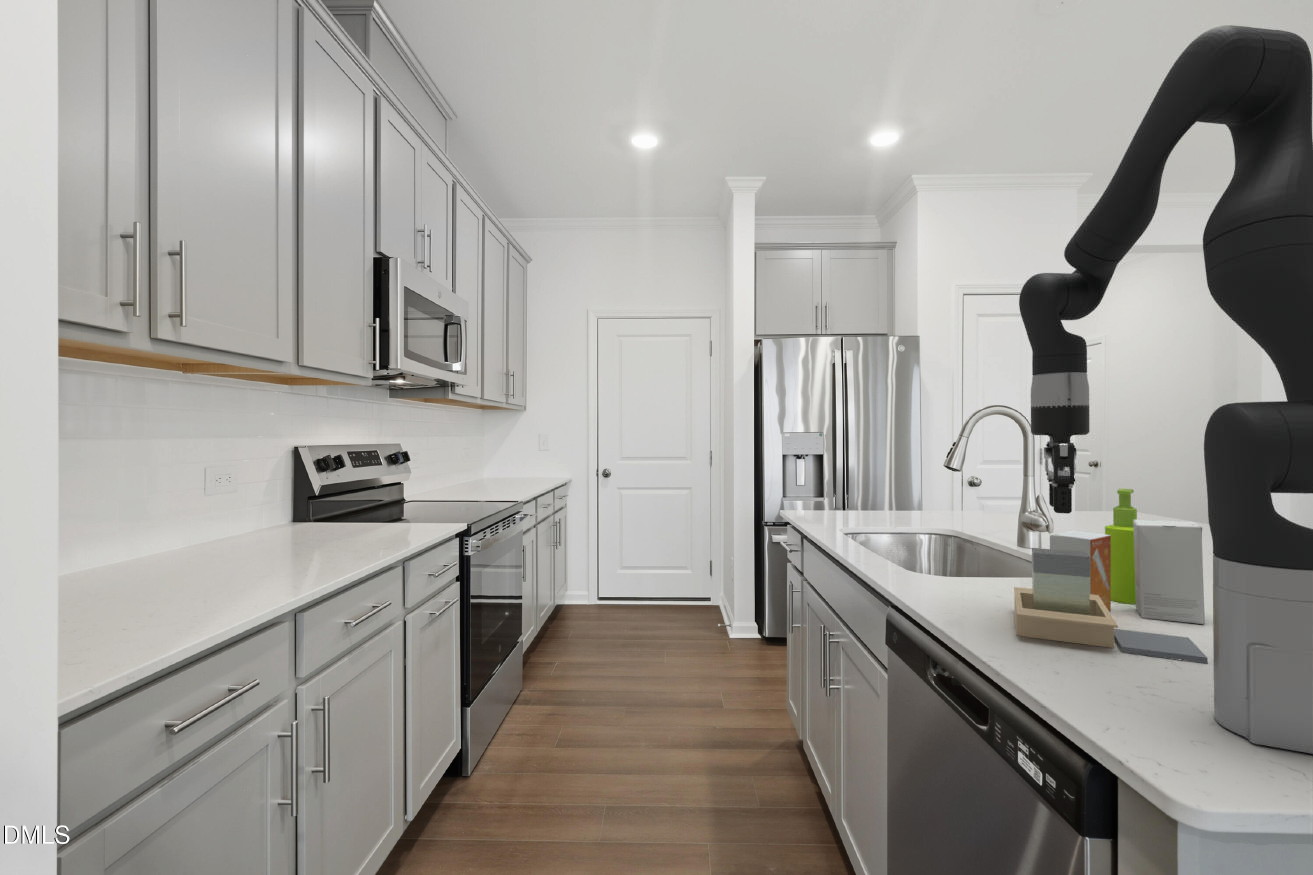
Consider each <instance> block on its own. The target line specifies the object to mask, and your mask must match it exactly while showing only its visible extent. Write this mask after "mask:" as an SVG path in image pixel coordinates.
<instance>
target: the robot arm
mask: <svg viewBox="0 0 1313 875" xmlns="http://www.w3.org/2000/svg"><path fill="white" fill-rule="evenodd" d="M1196 123H1204V124H1215V125H1225V126H1226V127H1227V128H1228V129H1229V131H1230V132H1229V133H1230V135H1231V138H1232V142H1233V143H1232V144H1233V151H1234V163H1235V164H1234V169H1233V170H1234V172H1233V175H1232V178H1231V180H1230V182H1229V184H1228V186H1227V187H1226V189H1225V191H1224V192H1223V194H1222V195H1221V196H1220V198H1219V200H1218V201H1217V203H1216V204H1215V206H1214V208H1213V209H1212V212H1211V213H1210V215H1209V216H1208V220H1207V222H1206V224H1205V226H1204V230H1203V233H1202V249H1203V250H1202V251H1203V261H1204V269H1205V277H1206V283H1207V288H1208V290H1209V294H1210V295H1211V297H1212V299H1213V300H1214V302H1215V303H1216V304H1217V305H1218V307H1219V308H1220V310H1222V311H1223V312H1224V313H1225V315H1227V316H1228V317H1229V318H1230V320H1232V321H1233V322H1234V323H1236V325H1237V326H1239V328H1240V329H1241V330H1243V331H1244V333H1246V334H1247V335H1248V336H1250V337H1251V339H1253V340H1254V342H1256V344H1257V345H1258V346H1259V347H1260V348H1261V349H1263V351H1264V352H1265V353H1266V354H1267V355H1268V357H1269V358H1270V360H1271V361H1272V363H1273V365H1274V367H1275V368H1276V370H1277V372H1278V374H1279V377H1280V380H1281V383H1282V386H1283V389H1284V393H1285V396H1286V400H1283V401H1281V400H1279V401H1249V402H1246V401H1244V402H1243V401H1242V402H1231V403H1226V404H1224V405H1221V406H1220V407H1218V408H1217V409H1215V410H1214V411H1213V412H1212V414H1211V415H1210V417H1209V419H1208V421H1207V423H1206V427H1205V431H1204V437H1203V441H1204V442H1203V456H1204V457H1203V458H1204V470H1205V471H1204V472H1205V483H1206V494H1207V496H1206V497H1207V518H1208V525H1209V530H1210V535H1211V539H1212V554H1213V555H1212V616H1213V617H1212V623H1213V624H1212V631H1213V632H1212V634H1213V635H1212V636H1213V637H1212V638H1213V642H1212V643H1213V645H1212V646H1213V648H1212V649H1213V650H1212V651H1213V652H1212V654H1213V660H1212V661H1213V703H1214V704H1213V716H1214V720H1216V722H1217V723H1218V724H1220V725H1221V726H1222V727H1223V728H1226V729H1227V730H1229V731H1231V732H1233V733H1236V734H1237V735H1240V736H1242V737H1244V738H1246V739H1247V740H1248V742H1250V743H1252V744H1255V745H1262V746H1266V747H1267V746H1268V747H1272V748H1278V749H1283V750H1289V751H1295V752H1300V753H1301V752H1302V753H1306V754H1307V753H1308V754H1312V755H1313V528H1310V527H1307V526H1303V525H1301V524H1298V523H1295V522H1293V521H1291V520H1289V519H1287V518H1285V517H1284V516H1283V515H1281V514H1279V513H1278V512H1277V511H1276V509H1275V506H1274V503H1273V499H1272V498H1273V496H1272V494H1313V60H1312V55H1311V51H1310V47H1309V46H1308V42H1307V41H1306V40H1304V38H1303V37H1301V36H1300V35H1298V34H1297V33H1294V32H1291V31H1286V30H1282V29H1281V30H1280V29H1270V28H1262V27H1251V26H1245V25H1244V26H1242V25H1235V24H1233V25H1226V24H1225V25H1219V26H1216V27H1215V26H1214V27H1213V28H1210V29H1209V30H1206V31H1204V32H1202V33H1201V34H1200V35H1198V36H1197V37H1196V38H1195V39H1193V41H1191V42H1190V43H1189V44H1188V46H1187V47H1186V48H1185V49H1184V50H1183V51H1182V52H1181V53H1180V55H1179V56H1178V57H1177V58H1176V60H1175V62H1174V63H1173V65H1172V66H1171V68H1170V69H1169V71H1168V73H1167V74H1166V76H1165V77H1164V79H1163V81H1162V83H1161V84H1160V87H1159V88H1158V90H1157V92H1156V94H1155V96H1154V97H1153V100H1152V102H1151V103H1150V105H1149V107H1148V109H1147V111H1146V113H1145V114H1144V116H1143V118H1142V120H1141V122H1140V124H1139V125H1138V128H1137V129H1136V132H1135V133H1134V136H1133V137H1132V139H1131V141H1130V142H1129V143H1130V144H1129V145H1128V147H1127V149H1126V151H1125V153H1124V155H1123V157H1122V159H1121V161H1120V163H1119V165H1118V167H1117V169H1116V170H1115V172H1114V174H1113V176H1112V178H1111V179H1110V181H1109V182H1108V185H1107V186H1106V188H1105V190H1104V191H1103V194H1101V196H1100V198H1099V199H1098V200H1097V202H1096V203H1095V205H1094V207H1093V208H1092V209H1091V210H1090V212H1089V213H1088V215H1087V216H1086V217H1085V219H1084V220H1083V221H1082V223H1081V225H1080V226H1079V227H1078V228H1077V230H1076V231H1075V233H1074V234H1073V235H1072V236H1071V238H1070V239H1069V241H1068V242H1067V244H1066V246H1065V248H1064V252H1063V256H1064V258H1065V259H1064V260H1065V261H1066V262H1067V263H1068V265H1069V266H1071V267H1072V268H1073V269H1075V270H1074V271H1073V272H1072V273H1069V272H1067V273H1066V272H1063V273H1062V272H1041V273H1036V274H1034V275H1032V276H1030V278H1028V279H1027V280H1026V281H1025V283H1024V284H1023V286H1022V288H1021V289H1020V290H1021V291H1020V294H1019V298H1018V299H1019V300H1018V304H1019V305H1018V306H1019V307H1018V308H1019V312H1020V316H1021V320H1022V322H1023V323H1022V324H1023V325H1024V328H1025V332H1026V335H1027V339H1028V341H1029V344H1030V348H1031V352H1032V355H1031V356H1032V358H1031V360H1032V362H1031V365H1032V369H1031V370H1032V372H1031V374H1032V378H1031V379H1032V380H1031V385H1030V433H1031V435H1034V436H1047V437H1049V441H1047V442H1046V443H1045V444H1046V446H1044V447H1043V458H1044V470H1045V472H1046V474H1045V475H1046V477H1047V478H1046V480H1047V482H1048V487H1049V489H1048V491H1049V492H1048V495H1049V496H1048V498H1049V499H1048V500H1049V501H1048V502H1049V503H1048V504H1049V505H1050V507H1052V508H1053V512H1054V513H1056V514H1069V515H1070V514H1071V513H1072V511H1073V506H1072V505H1073V503H1072V502H1073V498H1072V497H1073V496H1072V495H1073V494H1072V493H1073V490H1072V489H1073V487H1074V486H1075V483H1076V478H1075V475H1076V471H1077V466H1076V464H1077V463H1076V460H1077V447H1076V445H1075V443H1074V442H1071V437H1072V436H1086V435H1088V434H1089V433H1090V430H1091V429H1090V386H1089V385H1090V384H1089V379H1088V346H1087V341H1086V339H1085V338H1084V337H1082V336H1081V335H1079V334H1078V335H1077V334H1074V333H1072V332H1069V331H1067V330H1066V328H1064V325H1063V323H1062V321H1077V320H1081V319H1083V318H1085V317H1087V316H1089V315H1090V314H1091V313H1092V312H1094V311H1095V310H1096V309H1097V308H1098V306H1099V305H1100V304H1101V302H1102V300H1103V298H1104V296H1105V294H1106V291H1107V289H1108V287H1109V285H1110V283H1111V281H1112V279H1113V276H1114V273H1115V271H1116V268H1117V266H1118V264H1119V263H1120V262H1121V261H1122V260H1123V258H1125V256H1126V255H1127V254H1128V253H1129V251H1130V250H1131V249H1132V248H1133V246H1134V245H1135V244H1136V243H1137V241H1138V240H1139V239H1140V238H1141V237H1142V236H1143V234H1145V232H1146V230H1147V228H1148V227H1149V226H1150V224H1151V222H1152V221H1153V218H1154V216H1155V213H1156V211H1157V208H1158V207H1157V206H1158V204H1159V198H1160V192H1161V184H1162V178H1163V174H1164V169H1165V167H1166V164H1167V161H1168V159H1169V156H1170V155H1171V153H1172V151H1173V150H1174V149H1175V147H1176V145H1177V144H1178V143H1179V142H1180V140H1181V139H1182V138H1183V137H1184V136H1185V134H1187V132H1188V131H1189V130H1190V129H1191V128H1192V127H1193V126H1194V125H1195V124H1196Z"/></svg>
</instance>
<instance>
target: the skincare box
mask: <svg viewBox="0 0 1313 875" xmlns="http://www.w3.org/2000/svg"><path fill="white" fill-rule="evenodd" d="M1133 526H1134V556H1135V590H1136V604H1135V608H1136V611H1137V613H1138V614H1139V616H1140V619H1150V620H1159V621H1169V622H1179V623H1190V624H1199V625H1204V624H1205V623H1206V622H1205V621H1206V619H1205V617H1206V614H1205V593H1204V592H1205V591H1204V589H1205V588H1204V587H1205V586H1204V564H1203V559H1204V558H1203V527H1202V526H1201V525H1200V524H1197V522H1194V521H1187V520H1183V521H1181V520H1153V519H1152V520H1151V519H1137V520H1133Z"/></svg>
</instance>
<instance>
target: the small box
mask: <svg viewBox="0 0 1313 875" xmlns="http://www.w3.org/2000/svg"><path fill="white" fill-rule="evenodd" d="M1049 549H1054V550H1068V551H1083V552H1086V553H1087V554H1088V555H1089V557H1090V594H1092V595H1099V597H1100V598H1101V600H1102V601H1103V603H1104V605H1105V606H1106V608H1107V609H1108V611H1109V612H1110V611H1111V608H1112V607H1111V606H1112V601H1111V535H1106V534H1105V533H1104V534H1103V533H1097V532H1089V531H1079V530H1069V531H1061V532H1058V533H1053V534H1049Z"/></svg>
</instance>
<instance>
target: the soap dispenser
mask: <svg viewBox="0 0 1313 875" xmlns="http://www.w3.org/2000/svg"><path fill="white" fill-rule="evenodd" d="M1116 492H1117V494H1118V505H1117V506H1114V507H1113V508H1112V511H1113V516H1112V518H1113V520H1112V521H1113V524H1110V525H1109V524H1108V525H1104V534H1106V535H1111V602H1114V603H1115V602H1116V603H1118V604H1119V603H1120V604H1127V605H1136V590H1135V556H1134V526H1133V520H1138V513H1137V512H1138V509H1137V508H1135V507H1134V506H1132V504H1131V503H1132V498H1131V497H1132V494H1133V493H1134V492H1135V491H1134V489H1133V488H1118V489H1117V490H1116Z"/></svg>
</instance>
